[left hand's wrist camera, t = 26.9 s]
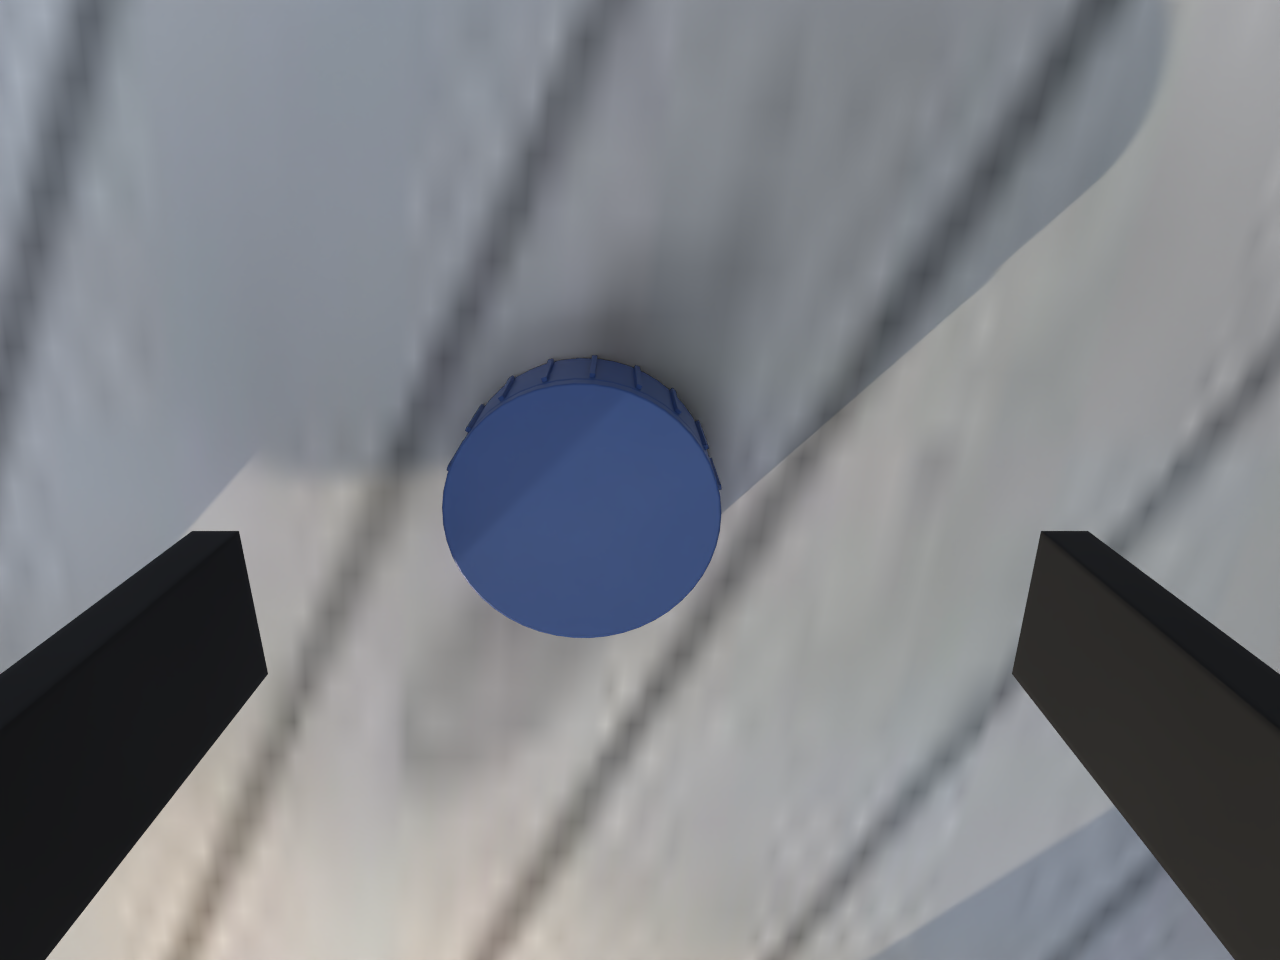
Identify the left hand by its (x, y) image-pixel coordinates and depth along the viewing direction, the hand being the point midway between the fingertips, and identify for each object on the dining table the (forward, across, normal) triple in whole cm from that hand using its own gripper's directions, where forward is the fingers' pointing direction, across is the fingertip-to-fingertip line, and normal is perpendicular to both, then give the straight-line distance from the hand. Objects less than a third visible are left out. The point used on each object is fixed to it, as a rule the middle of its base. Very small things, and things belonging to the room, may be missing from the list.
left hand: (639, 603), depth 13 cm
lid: (+3, +1, 0) cm, 3 cm away
